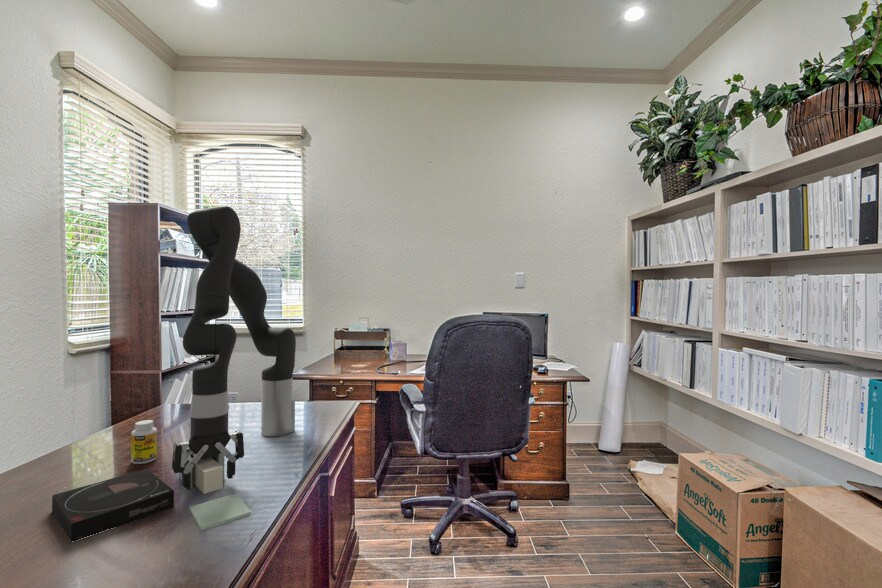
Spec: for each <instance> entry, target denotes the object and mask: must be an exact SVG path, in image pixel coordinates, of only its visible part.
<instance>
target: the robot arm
mask: <svg viewBox="0 0 882 588" xmlns="http://www.w3.org/2000/svg"><path fill="white" fill-rule="evenodd" d="M186 222H187V223H186V224H187V227H188V231H189V233H190V235H191V238H192V239H193V240H194V242H195V243H196V245H197V246H198V248H199V249H200V250H201V252H202V253H203V255H204V257H206V259H207V260H208V263H207V265H206V266H205V267H204V269H203V270H202V272H201V273H200V276H199V278H198V280H197V283H196V288H195V289H196V290H195V301H194V302H195V303H194V310H193V313H192V316H191V318H190V320H189V322H188V325H187V327H186V329H185V332H184V334H183V337H182V347H183V349H184V351H185V352H186V353H187V354H188V355H189V356H194V357H196V356H213V355H214V356H216V355H218V358H217V359H216V361H214V362H211V363H208V364H203V365H200V366H197V367H195V368H194V369H193V370H192V374H191V376H192V377H191V378H192V379H191V381H192V383H191V384H192V385H191V389H192V393H191V402H190V438H189V442H187V441H185V442H186V443H182V442H178V441H176V442H174V444H173V449H172V450H173V451H172V461H171V469H172V471H173V473H174V474H179V473H182V481H181V486H182V487H183V488H184V489H185V490H186V491H190V490H191V489H192V487H191V473H190V470H191V469H192V468H193V466H194V465H195V464H197V462H198V461H199V459H200V458H201V459H207V458H209V457H216V456H218V455H219V454H220V453H222V454H223V455H224V458H225V457H226V458H225V459H227V460H226V477H227V478H228V480H231V479H233V478H234V477H233V476H235V475H236V462H237V461H238V459H243V458H244V457H245V448H244V447H245V445H244V444H245V443H244V442H245V441H244V433H243V432H241V431H240V430H239V429H236V430H235V431H234V432H232V433H231V432H230V433H229V408H230V405H229V395H228V372H229V365H230V361H231V357H232V355H233V351H234V349H235V345H236V342H237V332H236V329H235V327H234V326H233V325H231V324H229V323H207V322H210V321H212V320H217V319H221V318H224V317H226V316H227V315H228V313H229V311H230V310H229V309H230V299H231V301H232V303H233V304H234V306H235V308H237V310H238V313H239V314H240V316H241V318H242V319H243V321H244V323H245V326H246V327H247V330H248V332H249V334H250V337H251V340H252V342H253V344H254V346H255V349H256V350H257V351H258V353H259V354H260V355H262V356H265V357H275V362H274V364H273V365H272V366H269V367H266V368H264V369H262V371H261V415H260V416H261V423H260V424H261V428H260V429H261V432H260V433H261V435H263V436H264V437H280V436H281V437H282V436H285V435H288V434H290V433H292V432H295V431H296V425H295V424H296V402H295V400H293V392H294V391H293V386H294V385H293V384H294V383H293V381H294V380H293V379H294V378H293V375H294V369H295V363H296V349H297V346H296V345H297V339H296V334H295V332H294V331H293V329H292V328H288V327H272V326H270V325H269V323H268V322H267V319H266V317H265V309H266V306H267V300H268V296H267V295H268V293H267V290H266V288H265V285H264V284H263V282H262V280H261V279H260V277H259V275H258V274H257V273H256V272H255V271H254V270H253V269H252V268H250V267H249V266H247V265H246V264H244V263H243V262H241V261H239V260H238V259H236V256H237V252H238V247H239V242H240V240H241V239H240V238H241V231H242V230H241V221H240V217H239V216H238V214H237V212H236V210H234V209H233V208H232V207H231V206H228V205H223V206H222V205H221V206H215V207H210V208H209V207H208V208H204V209H199V210H194V211H192V212H190V213H188V214H187V219H186ZM231 440H232V441H233V442H234V446H235V452H234V453H232V452H231V451H230V450H228V448H226V447H227V445H228V444H229V442H230V441H231ZM187 448H190V449H191V450H192V452H191V454H190V455H189V456H188V458H187V460H186V462H185V463H184V464H183V465H181V456H182V454H183V453H184V452H185V450H186V449H187ZM193 454H194V455H193Z"/></svg>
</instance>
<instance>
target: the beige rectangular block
mask: <svg viewBox="0 0 882 588" xmlns="http://www.w3.org/2000/svg"><path fill="white" fill-rule="evenodd" d="M192 485H194V486H195V487H196V488H197V489H198V490H199V491H200V492H201V493H202V494H207V493H211V492H215V491H218V490H221V489H223V488H224V479H223V466H221V465H220V464H219V463H217V462H216V461H215V460H213V459H212V458H211V457H209V458H207V459H201V458H200V459H199V461H198V462H197V464H195V465H194V466H193V468H192Z"/></svg>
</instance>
